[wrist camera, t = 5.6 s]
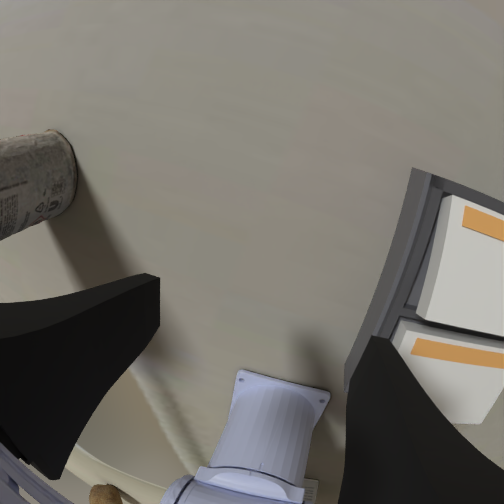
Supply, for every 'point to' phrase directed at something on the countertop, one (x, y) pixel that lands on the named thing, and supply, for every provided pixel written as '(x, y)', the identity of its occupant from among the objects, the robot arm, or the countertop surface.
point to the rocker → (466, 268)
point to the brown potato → (104, 495)
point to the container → (310, 489)
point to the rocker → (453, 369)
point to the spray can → (34, 180)
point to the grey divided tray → (412, 263)
